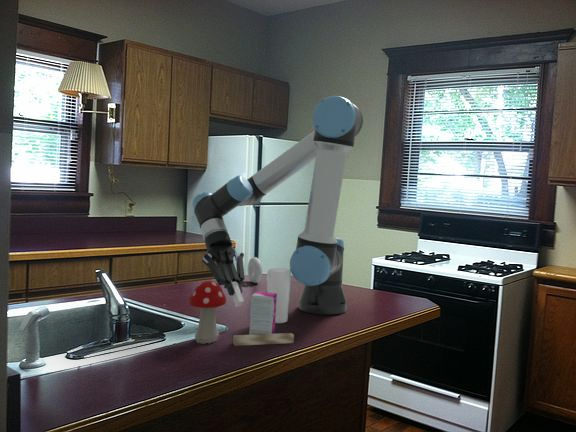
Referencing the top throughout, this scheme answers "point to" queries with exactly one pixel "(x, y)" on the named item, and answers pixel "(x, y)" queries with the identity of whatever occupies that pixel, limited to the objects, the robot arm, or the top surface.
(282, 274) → the drinking glass
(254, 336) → the bar
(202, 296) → the decorative mushroom
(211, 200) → the robot arm
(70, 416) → the top surface
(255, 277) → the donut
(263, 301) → the supplement box
